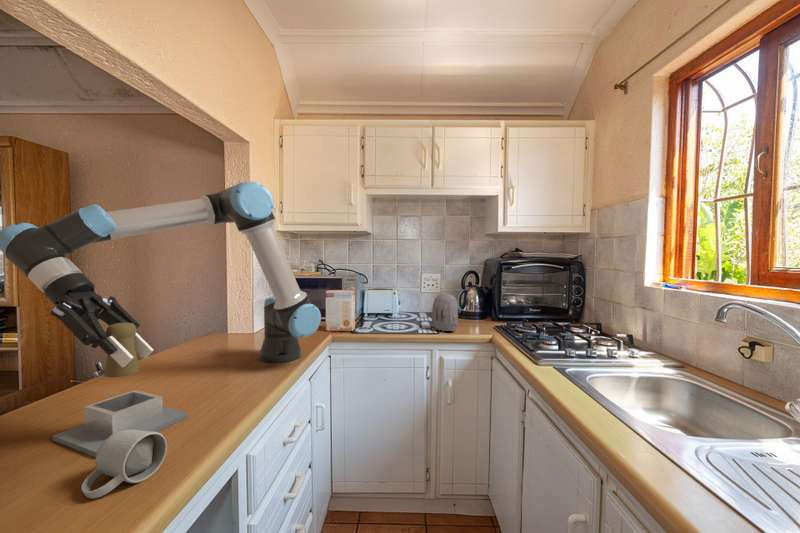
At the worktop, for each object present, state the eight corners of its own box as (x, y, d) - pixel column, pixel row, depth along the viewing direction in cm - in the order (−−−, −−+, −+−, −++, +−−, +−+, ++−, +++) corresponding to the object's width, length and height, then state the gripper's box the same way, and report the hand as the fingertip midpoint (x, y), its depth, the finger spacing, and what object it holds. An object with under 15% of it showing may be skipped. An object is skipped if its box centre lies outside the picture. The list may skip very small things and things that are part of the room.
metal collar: (135, 410, 83) (135, 389, 83) (162, 417, 79) (162, 396, 79) (84, 429, 74) (84, 406, 73) (112, 439, 70) (112, 415, 70)
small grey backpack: (460, 332, 174) (461, 293, 174) (450, 335, 168) (451, 294, 168) (437, 327, 185) (438, 291, 184) (427, 330, 179) (427, 292, 179)
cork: (111, 369, 78) (111, 321, 77) (143, 367, 80) (143, 320, 79) (98, 378, 72) (97, 326, 72) (132, 375, 74) (132, 325, 74)
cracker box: (355, 330, 178) (355, 290, 178) (352, 332, 172) (352, 291, 172) (329, 329, 180) (329, 289, 179) (325, 331, 174) (325, 290, 173)
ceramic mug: (135, 457, 65) (134, 418, 65) (168, 465, 63) (167, 424, 62) (68, 496, 55) (66, 449, 55) (104, 507, 53) (102, 458, 52)
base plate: (145, 405, 88) (145, 401, 88) (188, 417, 82) (188, 413, 82) (52, 440, 71) (52, 435, 71) (97, 458, 65) (97, 453, 65)
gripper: (89, 290, 84) (156, 357, 85) (3, 300, 66) (89, 385, 67) (110, 269, 84) (177, 336, 85) (30, 273, 66) (116, 358, 66)
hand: (138, 358), depth 76 cm, fingers closed on cork, 5 cm apart
